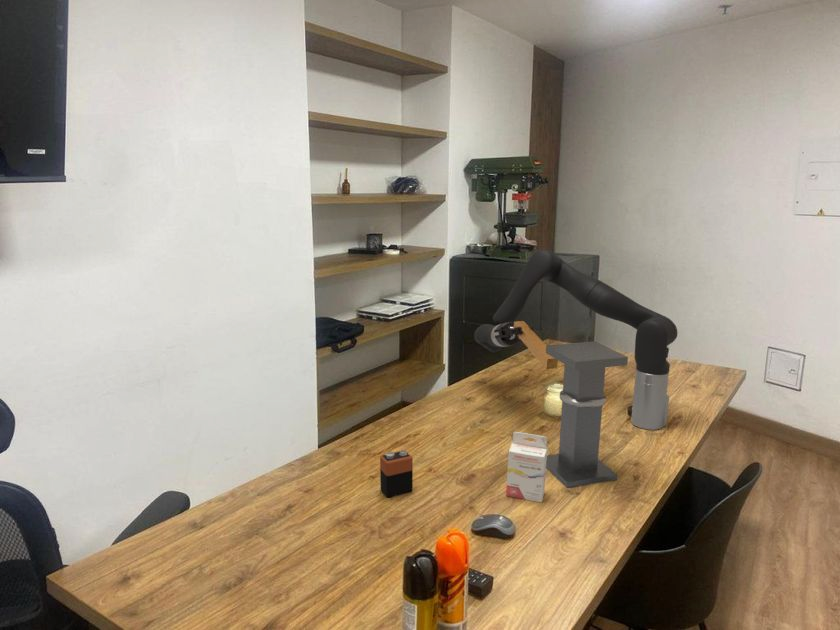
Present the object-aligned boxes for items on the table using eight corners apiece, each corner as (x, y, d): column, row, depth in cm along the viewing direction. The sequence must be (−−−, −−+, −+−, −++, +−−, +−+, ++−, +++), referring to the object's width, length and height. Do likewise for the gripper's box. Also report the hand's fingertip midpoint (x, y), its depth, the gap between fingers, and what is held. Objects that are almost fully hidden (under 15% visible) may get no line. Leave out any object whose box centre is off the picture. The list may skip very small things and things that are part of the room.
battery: (379, 489, 141) (379, 451, 139) (405, 483, 144) (405, 445, 142) (387, 498, 137) (386, 459, 135) (413, 491, 140) (413, 453, 138)
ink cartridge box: (505, 496, 138) (507, 438, 135) (509, 486, 143) (511, 430, 139) (542, 503, 135) (545, 444, 132) (545, 492, 140) (548, 435, 137)
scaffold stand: (586, 454, 159) (594, 341, 151) (616, 479, 146) (627, 357, 138) (539, 461, 155) (546, 345, 148) (566, 487, 142) (575, 361, 135)
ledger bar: (522, 330, 177) (523, 321, 176) (556, 368, 155) (558, 358, 154) (513, 330, 176) (514, 321, 175) (546, 369, 155) (547, 359, 154)
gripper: (483, 324, 186) (502, 318, 169) (525, 321, 189) (547, 315, 172) (486, 348, 185) (505, 344, 168) (527, 344, 188) (550, 341, 171)
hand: (526, 330), depth 170 cm, fingers closed on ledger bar, 3 cm apart
